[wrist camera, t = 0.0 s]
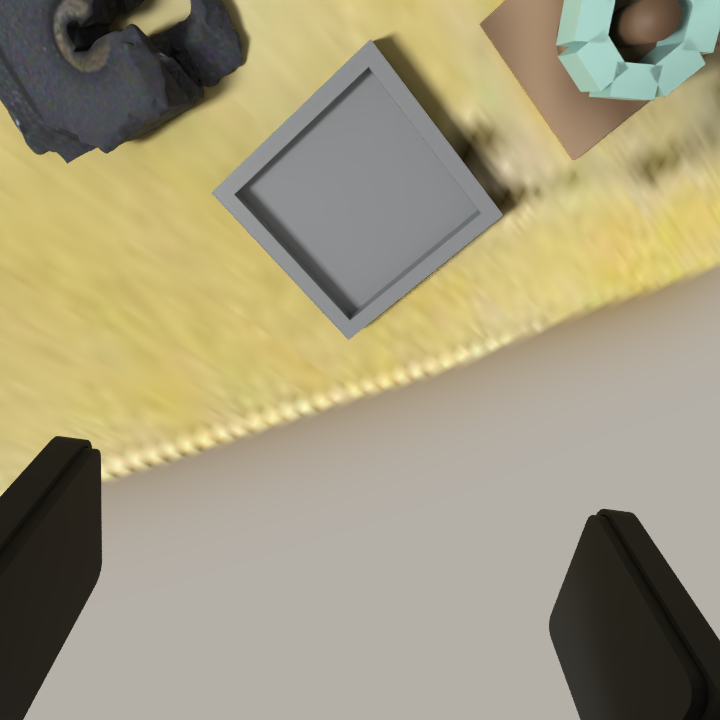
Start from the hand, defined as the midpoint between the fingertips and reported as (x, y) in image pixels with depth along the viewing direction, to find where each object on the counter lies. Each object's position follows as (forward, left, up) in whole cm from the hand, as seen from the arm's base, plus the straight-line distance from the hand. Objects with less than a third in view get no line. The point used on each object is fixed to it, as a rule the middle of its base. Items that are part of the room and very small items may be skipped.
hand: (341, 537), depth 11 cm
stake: (-18, +1, -31) cm, 36 cm away
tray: (-1, -1, -31) cm, 31 cm away
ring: (-18, +1, -27) cm, 33 cm away
